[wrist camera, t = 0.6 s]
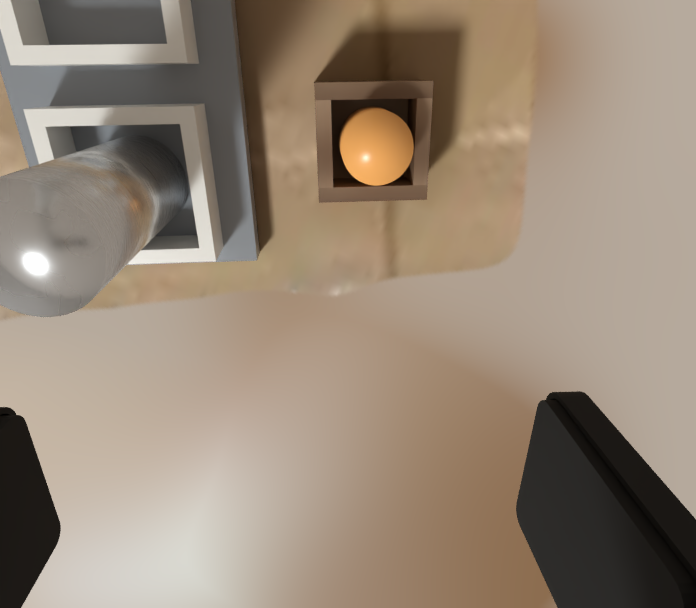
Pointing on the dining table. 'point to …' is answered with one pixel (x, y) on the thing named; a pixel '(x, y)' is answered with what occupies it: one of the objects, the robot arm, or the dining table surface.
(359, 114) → the button
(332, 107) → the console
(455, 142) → the dining table surface
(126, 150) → the grey domed bottle
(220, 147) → the double square holder tray
